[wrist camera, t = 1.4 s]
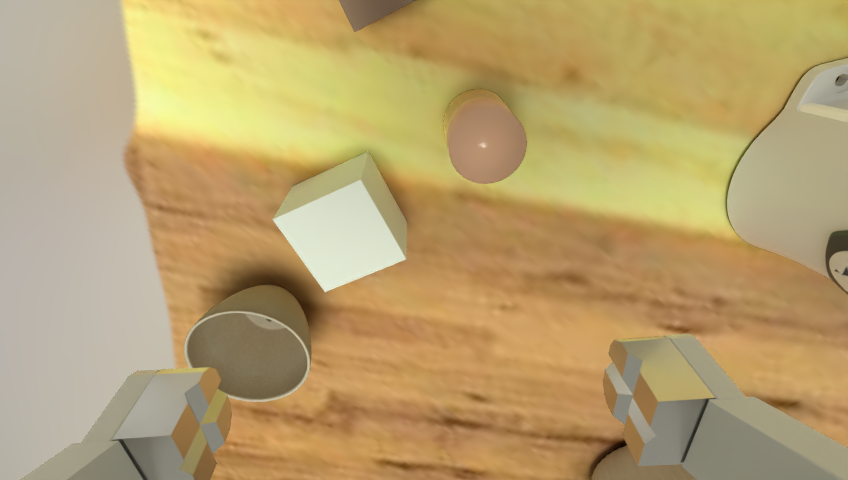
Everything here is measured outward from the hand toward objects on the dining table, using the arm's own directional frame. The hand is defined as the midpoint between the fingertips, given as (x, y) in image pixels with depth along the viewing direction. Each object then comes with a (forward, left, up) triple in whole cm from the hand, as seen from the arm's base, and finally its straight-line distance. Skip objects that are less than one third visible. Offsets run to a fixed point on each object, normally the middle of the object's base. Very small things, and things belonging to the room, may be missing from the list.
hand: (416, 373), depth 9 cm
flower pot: (+20, +12, -27) cm, 36 cm away
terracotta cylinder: (-4, +4, -27) cm, 27 cm away
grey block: (+8, +6, -27) cm, 29 cm away
